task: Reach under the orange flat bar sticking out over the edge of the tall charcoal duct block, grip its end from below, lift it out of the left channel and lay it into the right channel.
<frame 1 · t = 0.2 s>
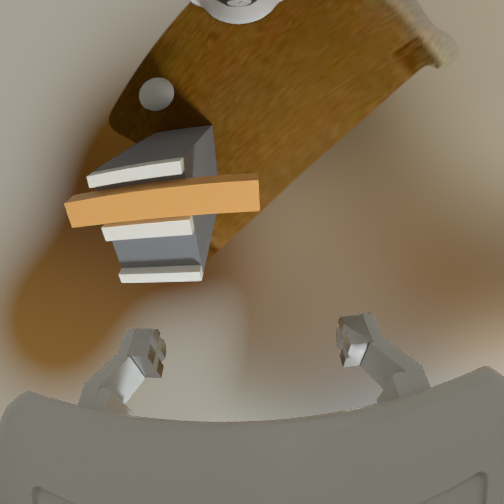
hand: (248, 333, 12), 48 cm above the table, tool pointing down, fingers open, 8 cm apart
orange flat bar: (156, 195, 31), point 26 cm above the table, touching duct block
duct block: (187, 165, 55), on the table
lightbulb: (169, 92, 46), on the table
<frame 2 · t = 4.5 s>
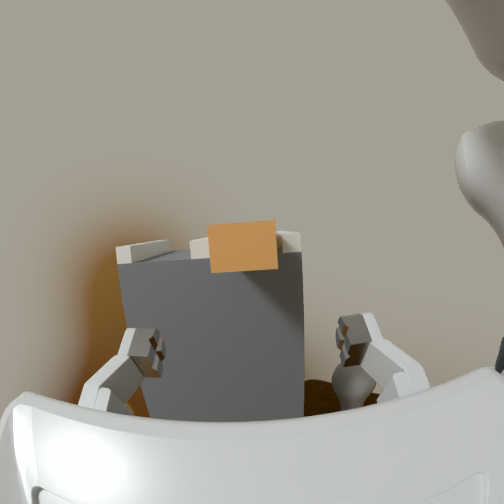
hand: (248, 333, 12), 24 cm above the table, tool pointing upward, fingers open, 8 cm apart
orange flat bar: (250, 251, 26), point 26 cm above the table, touching duct block
duct block: (236, 443, 31), on the table
lightbulb: (348, 423, 32), on the table
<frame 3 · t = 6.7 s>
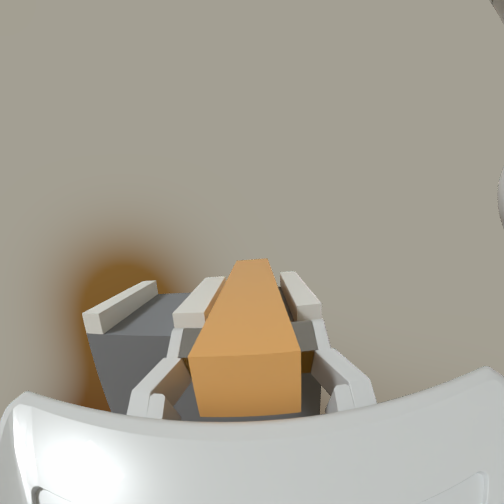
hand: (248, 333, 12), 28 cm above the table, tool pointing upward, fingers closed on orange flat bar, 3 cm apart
orange flat bar: (252, 313, 20), point 26 cm above the table, touching duct block, gripper
duct block: (239, 492, 25), on the table
when the fingers open (29 cm above the table, at t = 14.2 s): orange flat bar stays where it is, resting on duct block.
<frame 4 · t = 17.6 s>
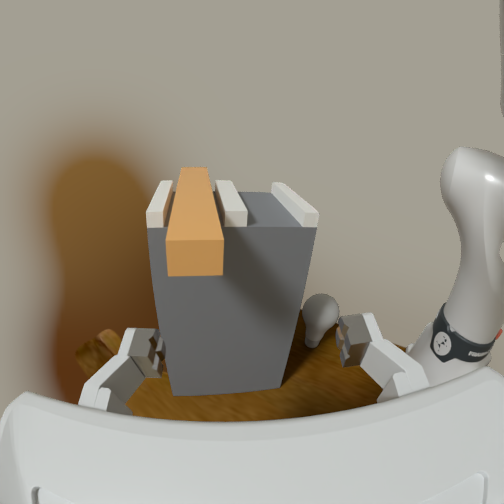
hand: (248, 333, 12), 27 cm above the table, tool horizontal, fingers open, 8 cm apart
orange flat bar: (193, 212, 28), point 26 cm above the table, touching duct block
duct block: (222, 363, 42), on the table
lightbulb: (310, 346, 47), on the table
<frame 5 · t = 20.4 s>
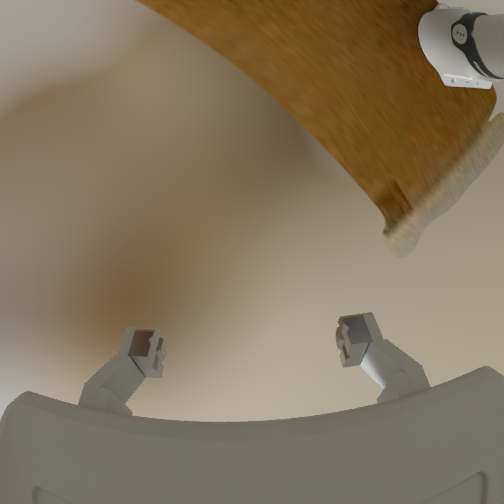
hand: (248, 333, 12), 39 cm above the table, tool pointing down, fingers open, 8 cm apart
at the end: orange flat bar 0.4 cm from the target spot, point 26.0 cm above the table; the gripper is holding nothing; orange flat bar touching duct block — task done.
